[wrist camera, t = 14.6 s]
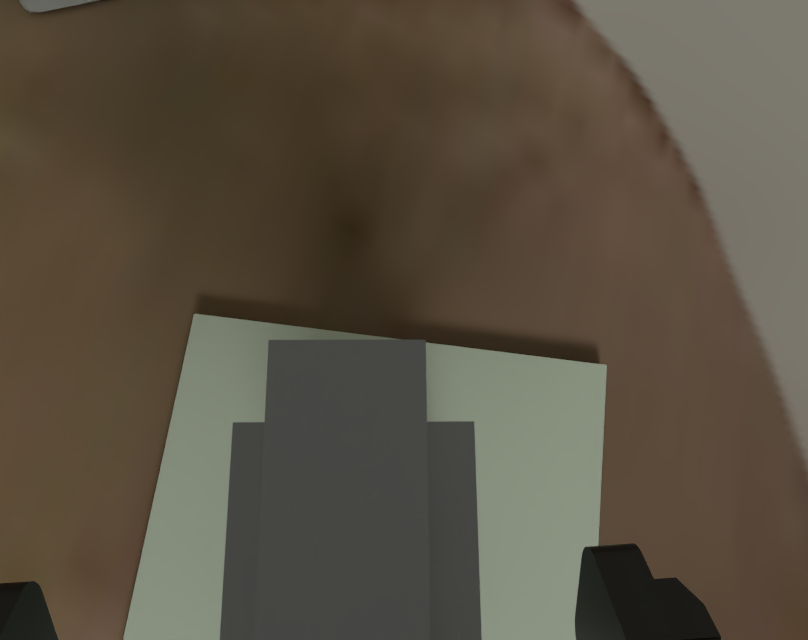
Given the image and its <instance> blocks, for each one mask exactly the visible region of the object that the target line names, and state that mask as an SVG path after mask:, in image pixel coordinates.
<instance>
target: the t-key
mask: <svg viewBox="0 0 808 640" xmlns="http://www.w3.org/2000/svg"><path fill="white" fill-rule="evenodd" d="M220 640H482V634H481V605H480V575H479V546H478V516H477V487H476V457H475V428H474V421H448V422H427V388H426V340H268V361H267V381H266V402H265V422H233V427H232V443H231V460H230V476H229V493H228V510H227V526H226V543H225V559H224V576H223V592H222V609H221V626H220Z"/></svg>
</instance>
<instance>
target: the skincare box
mask: <svg viewBox="0 0 808 640" xmlns="http://www.w3.org/2000/svg"><path fill="white" fill-rule="evenodd" d="M19 1H20V3H21V4H22V6H23V8H24V9H26V10H27V11H28V12H38V13H39V12H45V11H49V10H55V9H59V8H64V7H70V6H75V5H80V4H84V3H89V2H94V1H98V0H19Z"/></svg>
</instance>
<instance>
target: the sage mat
mask: <svg viewBox="0 0 808 640" xmlns="http://www.w3.org/2000/svg"><path fill="white" fill-rule="evenodd" d="M268 340H402V339H394V338H386V337H378V336H370V335H362V334H354V333H346V332H338V331H330V330H322V329H314V328H306V327H298V326H290V325H282V324H274V323H266V322H258V321H250V320H242V319H234V318H226V317H218V316H210V315H202V314H194V316H193V321H192V325H191V330H190V335H189V339H188V344H187V348H186V353H185V358H184V362H183V367H182V371H181V376H180V381H179V385H178V390H177V394H176V399H175V403H174V408H173V413H172V417H171V422H170V426H169V431H168V436H167V440H166V445H165V449H164V454H163V459H162V463H161V468H160V472H159V477H158V481H157V486H156V491H155V495H154V500H153V504H152V509H151V514H150V518H149V523H148V527H147V532H146V537H145V541H144V546H143V550H142V555H141V559H140V564H139V569H138V573H137V578H136V582H135V587H134V592H133V596H132V601H131V605H130V610H129V615H128V619H127V624H126V628H125V633H124V637H123V640H220V626H221V609H222V592H223V576H224V559H225V543H226V526H227V510H228V493H229V476H230V460H231V443H232V427H233V422H265V402H266V381H267V361H268ZM606 371H607V365H603V364H595V363H587V362H579V361H571V360H563V359H555V358H547V357H539V356H531V355H523V354H515V353H507V352H499V351H491V350H483V349H474V348H466V347H458V346H450V345H442V344H434V343H426V388H427V422H448V421H474V428H475V457H476V487H477V516H478V546H479V575H480V605H481V634H482V640H576V635H575V611H576V602H577V594H578V585H579V576H580V567H581V558H582V552H583V549H584V548H585V547H589V546H598V539H599V518H600V497H601V476H602V455H603V434H604V413H605V392H606Z"/></svg>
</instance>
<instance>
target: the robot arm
mask: <svg viewBox="0 0 808 640" xmlns="http://www.w3.org/2000/svg"><path fill="white" fill-rule="evenodd" d="M575 635H576V640H721V636H720V634H719V632H718V630H717V628H716V626H715V625H714V623H713V621H712V619H711V617H710V615H709V613H708V611H707V609H706V607H705V605H704V604H703V603H702V602H701V601H700V600H699V599H698V598H697V597H696V596H695V595H694V594H693V593H691V592H690V591H689V590H688V589H687V588H686V587H685V586H684V585H683V584H682V583H681V582H680V581H679V580H678V579H677V578H663V579H654V578H653V576H652V574H651V572H650V570H649V568H648V565H647V563H646V561H645V559H644V557H643V555H642V553H641V551H640V549H639V548H638V546H637V545H636V544H619V545H604V546H589V547H585V548H584V549H583V552H582V558H581V567H580V576H579V585H578V594H577V602H576V611H575ZM0 640H58V638H57V635H56V632H55V629H54V626H53V623H52V620H51V617H50V614H49V611H48V608H47V605H46V602H45V599H44V596H43V593H42V590H41V588H40V586H39V584H37V583H36V582H34V581H32V582H16V583H1V584H0Z"/></svg>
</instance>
